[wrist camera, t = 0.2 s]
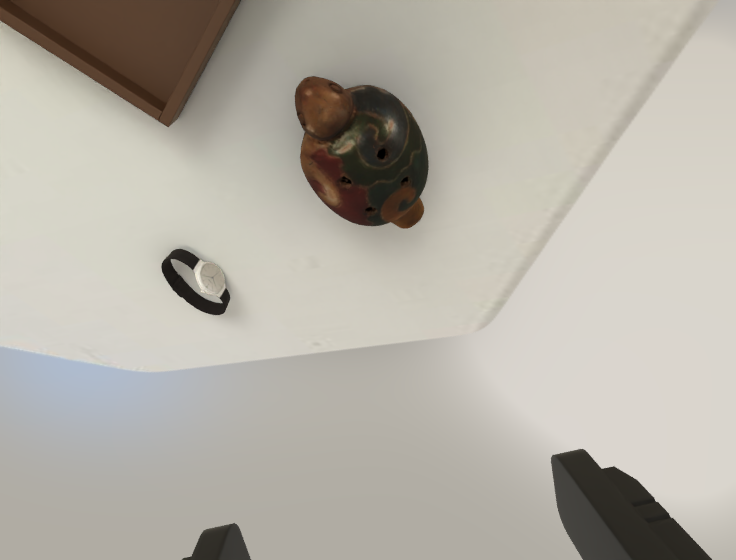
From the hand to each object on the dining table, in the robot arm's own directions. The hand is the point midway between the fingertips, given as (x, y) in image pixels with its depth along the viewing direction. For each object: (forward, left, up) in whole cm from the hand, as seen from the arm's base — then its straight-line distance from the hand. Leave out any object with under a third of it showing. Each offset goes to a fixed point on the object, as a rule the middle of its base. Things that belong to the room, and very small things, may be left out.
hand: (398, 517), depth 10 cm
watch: (-3, -19, -32) cm, 37 cm away
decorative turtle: (+2, +1, -32) cm, 32 cm away
